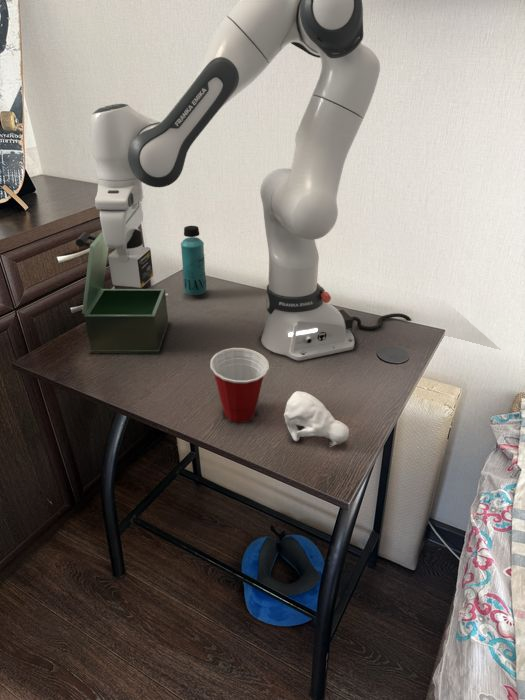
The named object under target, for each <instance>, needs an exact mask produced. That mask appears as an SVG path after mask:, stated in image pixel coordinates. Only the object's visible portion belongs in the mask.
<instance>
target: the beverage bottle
mask: <svg viewBox="0 0 525 700" xmlns="http://www.w3.org/2000/svg"><path fill="white" fill-rule="evenodd" d="M183 236H184V237H186V238H184V239H183V240H181V243H180V247H181V248H180V249H181V260H182V262H181V263H182V281H183V291H184V293H185V294H187V295H190V296H198V295H202V294H204V293H205V292H206V290H207V277H206V276H207V275H206V274H207V273H206V260H205V259H206V258H205V257H206V253H205V249H204V245H205V242H204V241H203V240H202V239H201V238H199V236H200V229H199V226H197V225H187V226H185V227H184V228H183Z"/></svg>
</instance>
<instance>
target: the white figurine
mask: <svg viewBox="0 0 525 700" xmlns="http://www.w3.org/2000/svg"><path fill="white" fill-rule="evenodd" d="M283 417H284V421H285V425H286V426H287V429H288V432H289V434H290V435H291V438H292V439H293V441H295V442H298V441H299V440H300V437H302V438H309V437H317V438H318V437H319V438H322V437H324V438H327V439H329V440H330V441H331V443H329V444H328V445H329V448H331V447H334V446H336V445H341V444H342V443H344V442H346V441H347V440H348V439H349V436H350V430H349V427H348V425H346V424H345V423H343V421H340V420H337V419H335V417H334V416H333V415H332V413H331V412H330V411H329V410H328V409H327V408H326V406H325V404H324V403H322V402H321V400H319V399H317V397H315V396H314V395H312V394H310V393H308V392H307V391H300V390H296V391H295V392H293V393H292V394H291V396H290V398H288V399H287V402H286V404H285V408H284V413H283ZM298 426H299V427H303V428H302V429H300V430H299V428H298Z"/></svg>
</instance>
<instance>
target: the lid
mask: <svg viewBox="0 0 525 700" xmlns="http://www.w3.org/2000/svg"><path fill="white" fill-rule="evenodd" d="M90 240H91V241H92V242H89V241H90ZM75 245H76V246H77V247H79V248H83V247H88V248H89V252H88V259H87V260H88V261H87V269H86V270H87V271H86V277H85V285H84V293H83V302H82V303H83V304H82V310H81V311H82V312H81V314H82V315H86V313H87V312H88V310H89V309H90V307H91V305H92V304H93V302H94V301H95V299H96V298H97V296H98V295H99V293H100V292H101V290H102V289H104V285H105V277H106V270H107V263H108V255H109V249H110V248H109V247H108V246H107V245H106V243H105V240H104V235H103V231H102V230H101V232H100V233H99V235H97V236H95V235H91V233H90V232H88V231H84V232H83V233H82V234H81V235H80V236H78V238H77V239H76V240H75Z"/></svg>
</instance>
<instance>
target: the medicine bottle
mask: <svg viewBox="0 0 525 700" xmlns="http://www.w3.org/2000/svg"><path fill="white" fill-rule="evenodd" d="M126 248H127V252H129V260H128V262H120V260H119V255H118V253H117V251H116V248H114V250H113V251H112V252H111V253H109V254H108V256H107V261H108V266H109V273H110V279H111V284H112V286H119V287H127V288H136V289H143V287H144V286H145V285H146V284H147V283H148V282H150V280H151V279H152V278H153V277H154V269H153V268H154V267H153V260H152V252H151V251H152V250H151V248H150V247H149V246H144V245H143V237H142V230H140V229H139V228H138V229H135V230H134V232H133V234H132V237H131V238H130V240H129V241H128V243H127V247H126Z"/></svg>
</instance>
